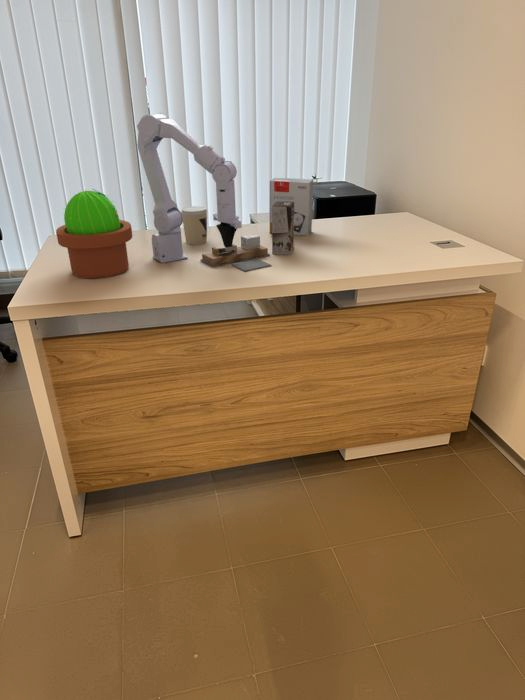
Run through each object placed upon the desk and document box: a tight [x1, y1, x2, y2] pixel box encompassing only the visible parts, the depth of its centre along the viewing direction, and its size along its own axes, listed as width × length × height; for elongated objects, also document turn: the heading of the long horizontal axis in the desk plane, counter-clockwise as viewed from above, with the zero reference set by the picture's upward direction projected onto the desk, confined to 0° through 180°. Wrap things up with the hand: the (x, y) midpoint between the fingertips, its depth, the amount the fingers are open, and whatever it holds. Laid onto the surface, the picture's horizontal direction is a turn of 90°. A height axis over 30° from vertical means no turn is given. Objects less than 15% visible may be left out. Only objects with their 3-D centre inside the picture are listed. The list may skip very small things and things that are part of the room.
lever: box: [218, 246, 237, 253], centre depth 168 cm, size 5×2×5 cm
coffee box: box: [271, 201, 295, 256], centre depth 177 cm, size 9×6×16 cm
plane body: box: [200, 243, 270, 268], centre depth 172 cm, size 22×8×5 cm, turn 123°
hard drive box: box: [269, 177, 314, 237], centre depth 198 cm, size 16×8×20 cm, turn 73°
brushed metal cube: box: [240, 233, 261, 251], centre depth 174 cm, size 5×4×4 cm
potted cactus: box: [55, 188, 133, 279], centre depth 158 cm, size 22×22×25 cm
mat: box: [231, 258, 272, 273], centre depth 166 cm, size 10×8×1 cm
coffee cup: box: [180, 205, 208, 245], centre depth 190 cm, size 9×9×12 cm
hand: (228, 246), depth 167 cm, fingers closed
